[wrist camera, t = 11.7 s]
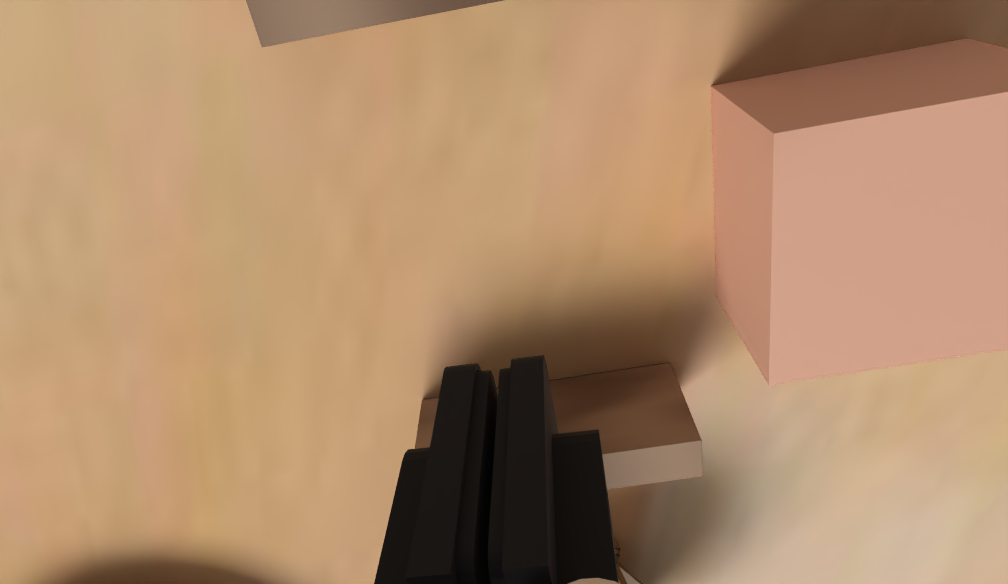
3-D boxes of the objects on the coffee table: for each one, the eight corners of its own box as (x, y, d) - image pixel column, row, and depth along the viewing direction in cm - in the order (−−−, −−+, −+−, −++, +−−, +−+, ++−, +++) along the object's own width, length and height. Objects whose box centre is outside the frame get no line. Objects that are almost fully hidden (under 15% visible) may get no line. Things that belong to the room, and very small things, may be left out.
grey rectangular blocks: (639, -111, 16) (680, -121, 13) (672, 395, 24) (702, 476, 20) (289, -40, 17) (235, -30, 13) (431, 431, 25) (421, 515, 21)
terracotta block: (963, 37, 18) (1111, 73, 14) (929, 259, 22) (1040, 345, 17) (708, 85, 19) (773, 133, 14) (714, 294, 22) (768, 385, 18)
